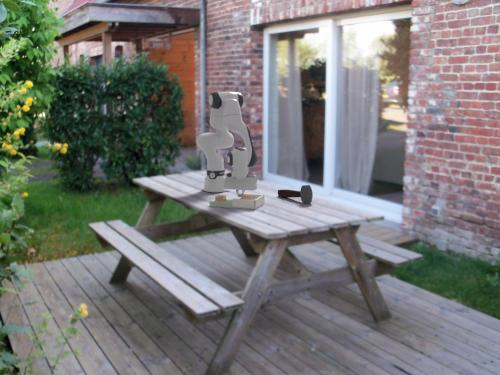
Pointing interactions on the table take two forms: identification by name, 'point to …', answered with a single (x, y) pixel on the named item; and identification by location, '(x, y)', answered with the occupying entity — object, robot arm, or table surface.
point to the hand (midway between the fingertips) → (240, 197)
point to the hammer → (298, 194)
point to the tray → (249, 202)
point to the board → (223, 202)
